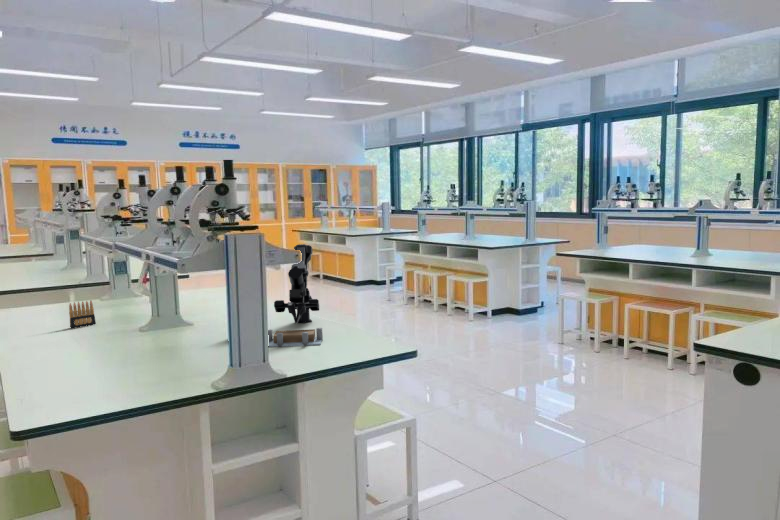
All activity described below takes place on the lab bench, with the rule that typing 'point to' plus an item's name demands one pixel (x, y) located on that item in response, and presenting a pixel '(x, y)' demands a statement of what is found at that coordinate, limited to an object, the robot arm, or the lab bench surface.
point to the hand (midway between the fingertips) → (296, 322)
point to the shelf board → (295, 335)
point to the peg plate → (304, 342)
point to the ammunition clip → (81, 315)
